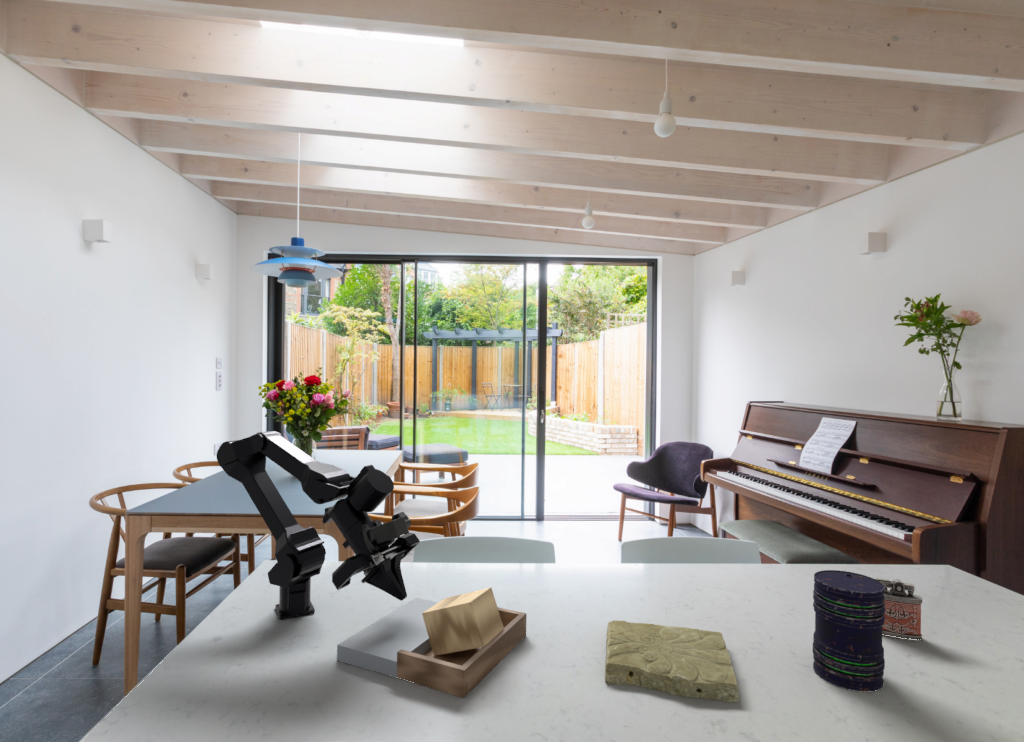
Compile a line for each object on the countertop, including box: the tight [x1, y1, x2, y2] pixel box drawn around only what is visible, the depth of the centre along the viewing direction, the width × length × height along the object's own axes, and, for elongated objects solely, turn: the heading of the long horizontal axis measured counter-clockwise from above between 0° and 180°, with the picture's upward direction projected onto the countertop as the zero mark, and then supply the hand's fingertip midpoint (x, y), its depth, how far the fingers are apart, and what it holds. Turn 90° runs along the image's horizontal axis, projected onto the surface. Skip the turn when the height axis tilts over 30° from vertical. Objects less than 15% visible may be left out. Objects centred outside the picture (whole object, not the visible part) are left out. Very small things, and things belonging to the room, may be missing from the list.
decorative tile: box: [604, 620, 740, 703], centre depth 93 cm, size 19×20×4 cm
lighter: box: [874, 577, 923, 640], centre depth 104 cm, size 8×3×10 cm, turn 65°
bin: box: [397, 606, 527, 699], centre depth 95 cm, size 12×22×4 cm, turn 154°
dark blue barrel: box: [812, 569, 886, 693], centre depth 90 cm, size 10×10×15 cm
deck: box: [336, 597, 439, 678], centre depth 100 cm, size 12×22×2 cm, turn 154°
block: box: [422, 587, 504, 656], centre depth 95 cm, size 7×7×10 cm
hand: (404, 598), depth 101 cm, fingers closed
